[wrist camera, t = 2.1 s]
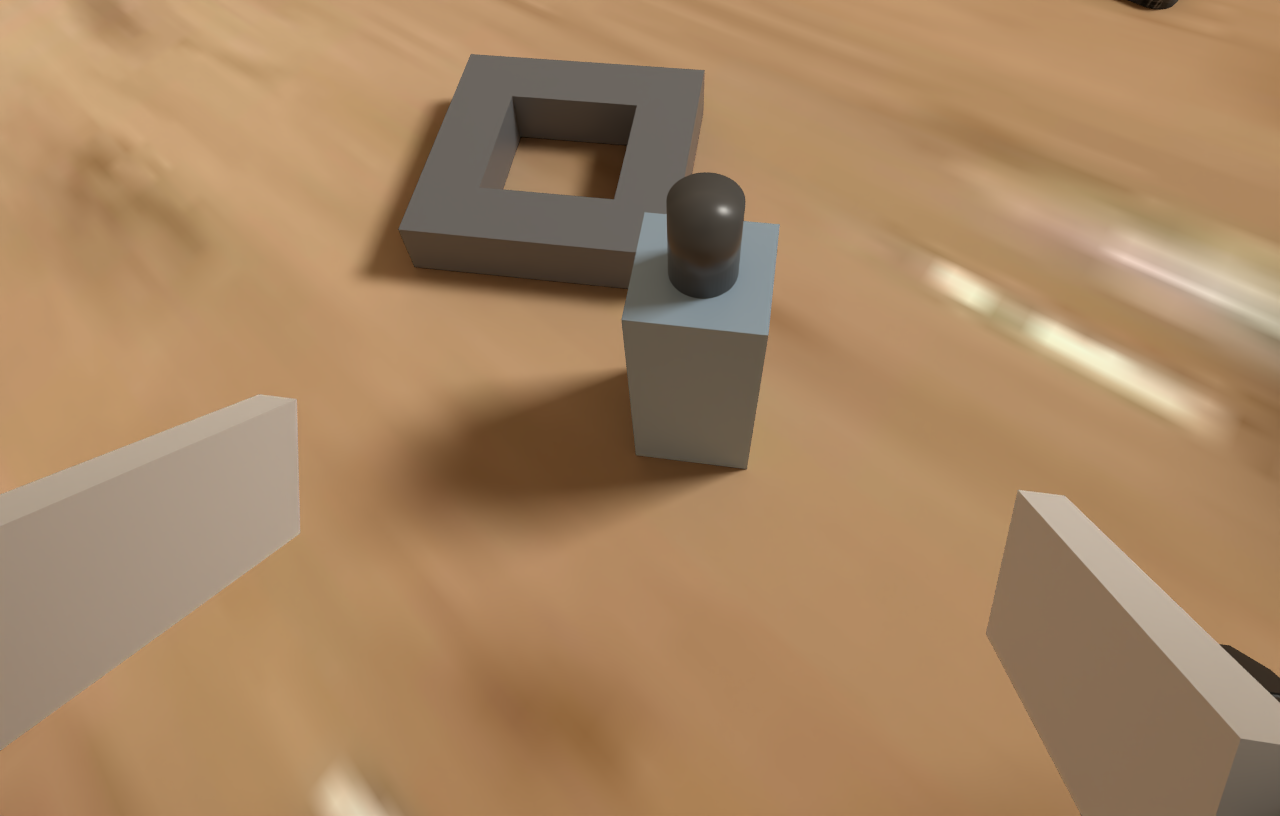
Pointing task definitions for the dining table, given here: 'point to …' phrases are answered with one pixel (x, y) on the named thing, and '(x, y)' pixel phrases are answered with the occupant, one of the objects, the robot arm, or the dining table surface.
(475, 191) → the frame
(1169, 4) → the phone
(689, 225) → the connector plug
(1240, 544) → the dining table surface
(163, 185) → the dining table surface
